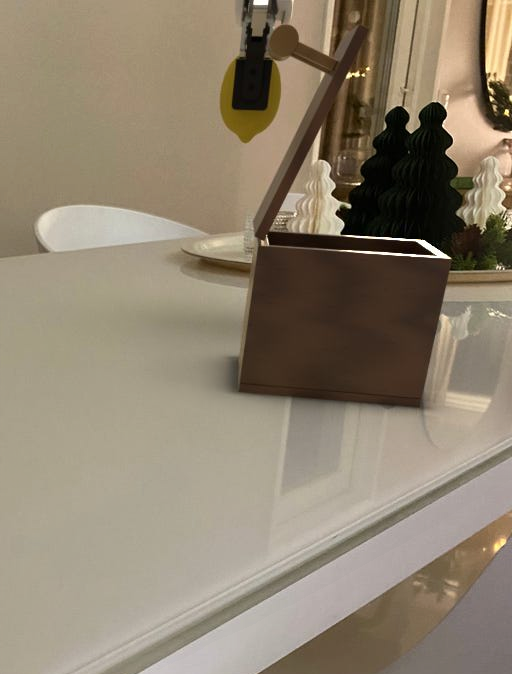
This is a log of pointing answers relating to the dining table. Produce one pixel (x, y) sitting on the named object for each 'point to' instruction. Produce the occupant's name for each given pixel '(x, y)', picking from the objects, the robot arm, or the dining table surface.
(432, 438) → the dining table surface
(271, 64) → the robot arm
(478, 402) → the dining table surface
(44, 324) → the dining table surface
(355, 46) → the lid
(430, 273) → the chest
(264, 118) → the lemon
